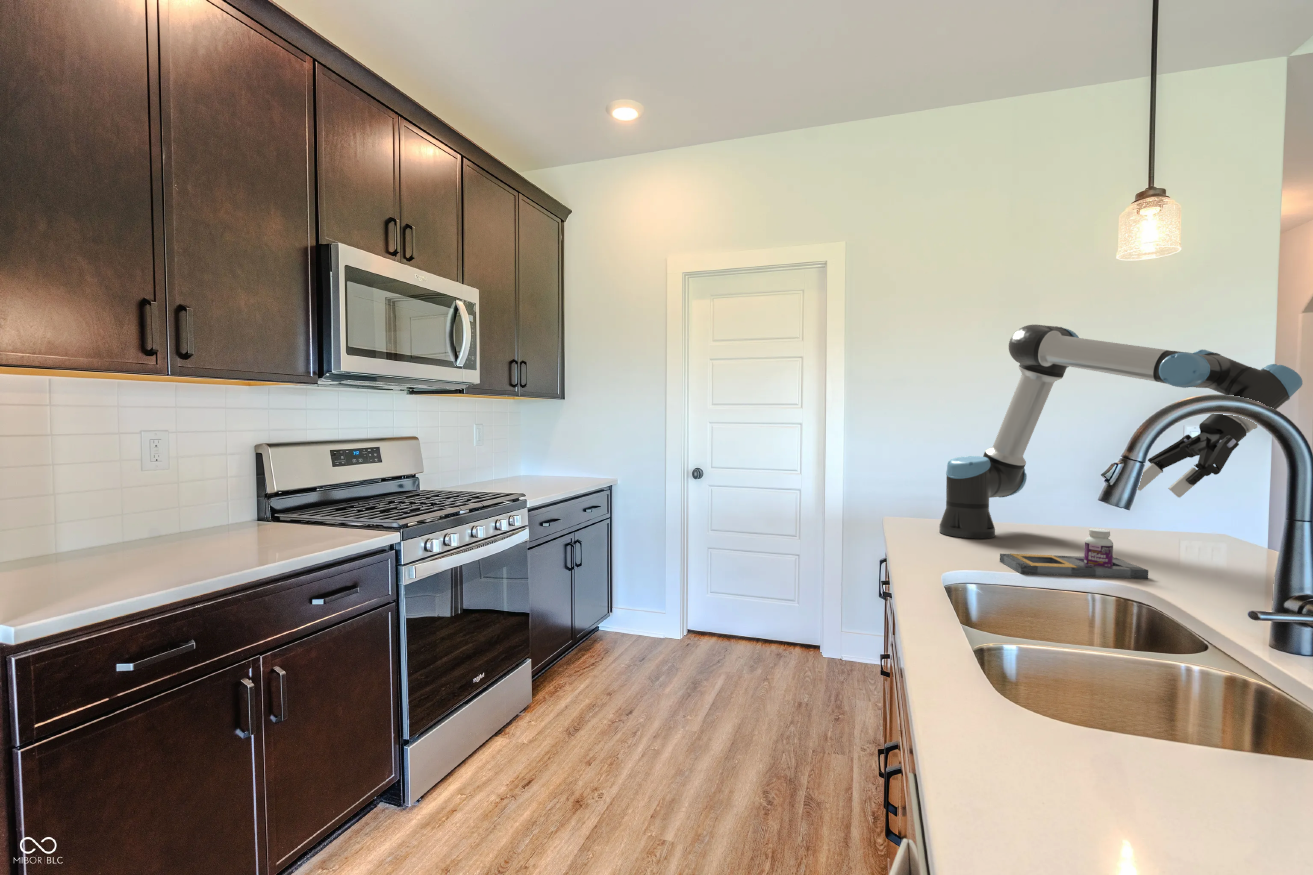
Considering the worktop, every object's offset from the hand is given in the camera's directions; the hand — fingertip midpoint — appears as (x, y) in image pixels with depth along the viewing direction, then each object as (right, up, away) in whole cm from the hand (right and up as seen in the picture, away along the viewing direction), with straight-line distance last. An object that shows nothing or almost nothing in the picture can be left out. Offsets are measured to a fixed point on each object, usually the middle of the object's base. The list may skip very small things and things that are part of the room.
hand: (1153, 489), depth 138 cm
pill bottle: (-11, -19, +3) cm, 22 cm away
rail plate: (-17, -19, +4) cm, 26 cm away
